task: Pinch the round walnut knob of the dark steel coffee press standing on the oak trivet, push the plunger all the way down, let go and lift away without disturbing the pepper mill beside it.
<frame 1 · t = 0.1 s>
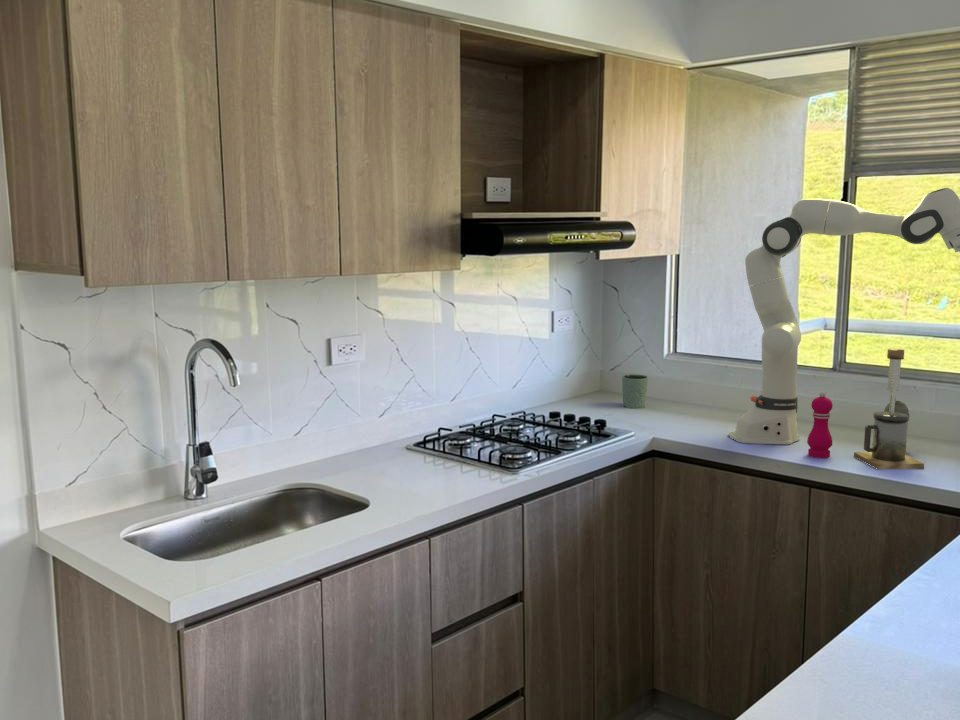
plunger: (894, 370, 253), point 28 cm above the worktop, slide at 7.0 cm
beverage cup: (893, 450, 272), on the worktop
trivet: (887, 462, 257), on the worktop
pepper mill: (818, 456, 265), on the worktop
press: (886, 420, 255), on the trivet, point 13 cm above the worktop
green cup: (634, 406, 340), on the worktop
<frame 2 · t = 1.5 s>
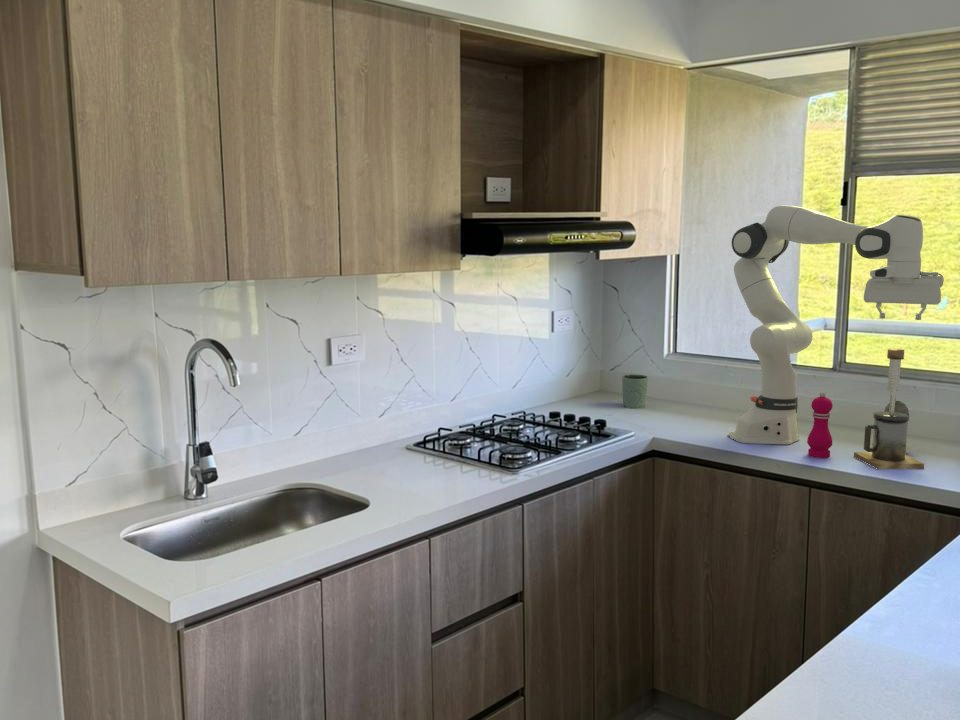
hand: (900, 319, 251), 43 cm above the worktop, tool pointing down, fingers open, 8 cm apart
nothing on the worktop moved.
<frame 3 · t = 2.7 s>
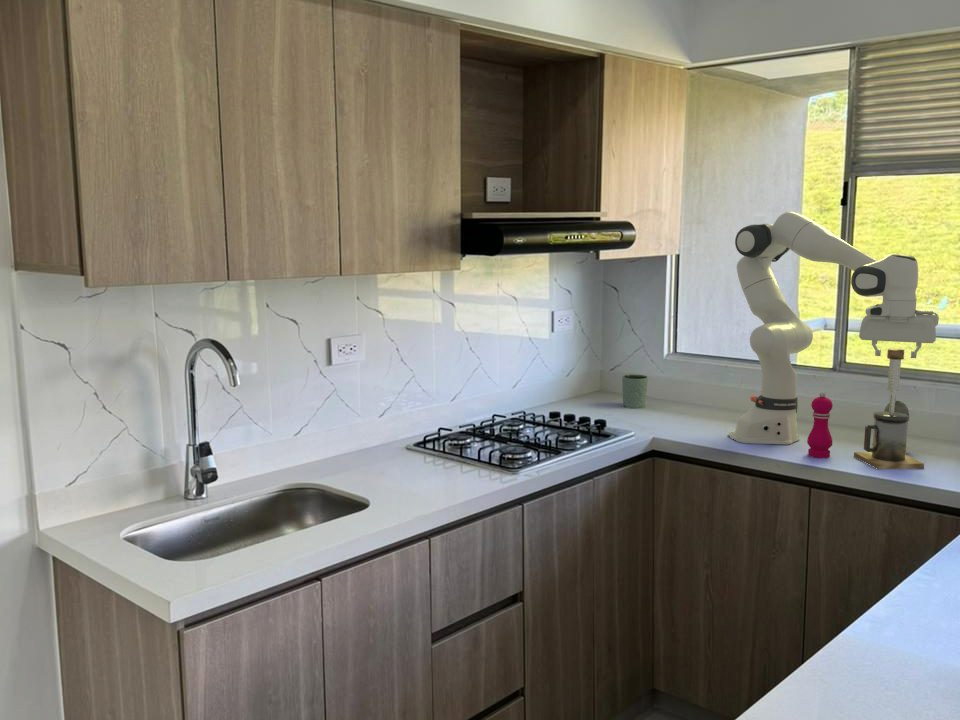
hand: (895, 356, 252), 32 cm above the worktop, tool pointing down, fingers open, 8 cm apart
nothing on the worktop moved.
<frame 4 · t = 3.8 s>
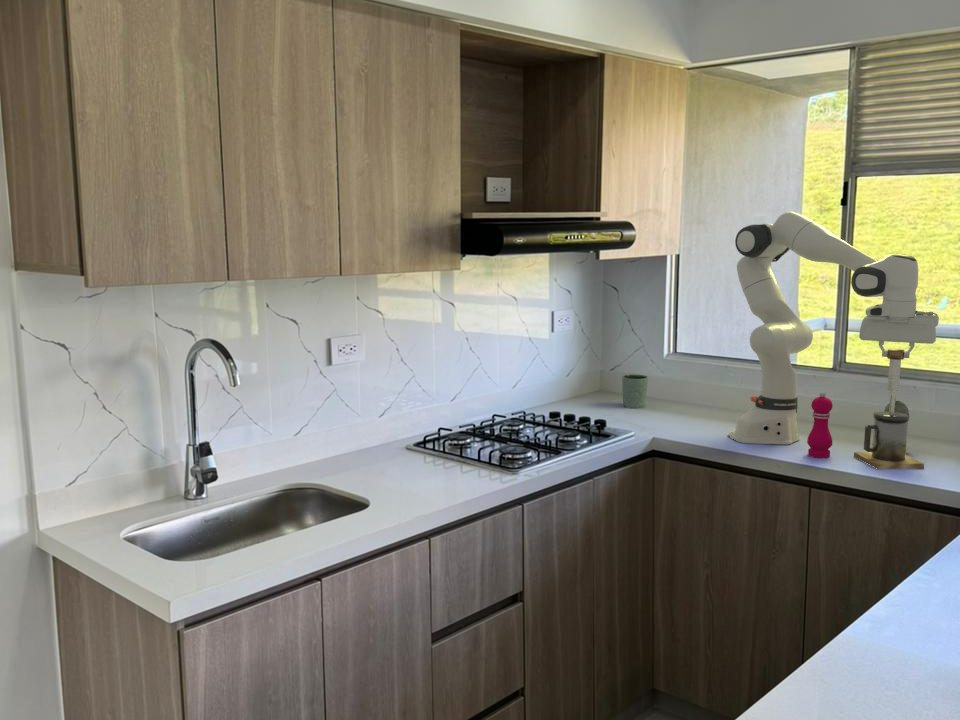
hand: (895, 357, 252), 32 cm above the worktop, tool pointing down, fingers closed on plunger, 4 cm apart
plunger: (894, 370, 253), point 28 cm above the worktop, slide at 7.0 cm, touching gripper
everything else where it was.
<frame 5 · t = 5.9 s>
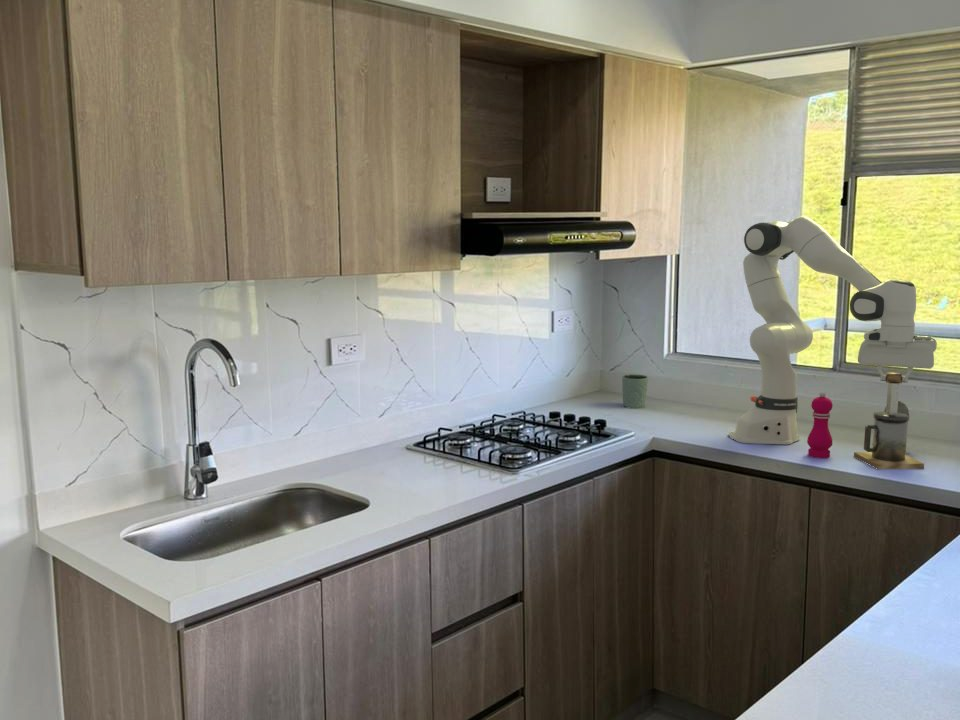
hand: (893, 381, 253), 25 cm above the worktop, tool pointing down, fingers closed on plunger, 4 cm apart
plunger: (892, 393, 254), point 21 cm above the worktop, slide at -0.1 cm, touching gripper
everything else where it was.
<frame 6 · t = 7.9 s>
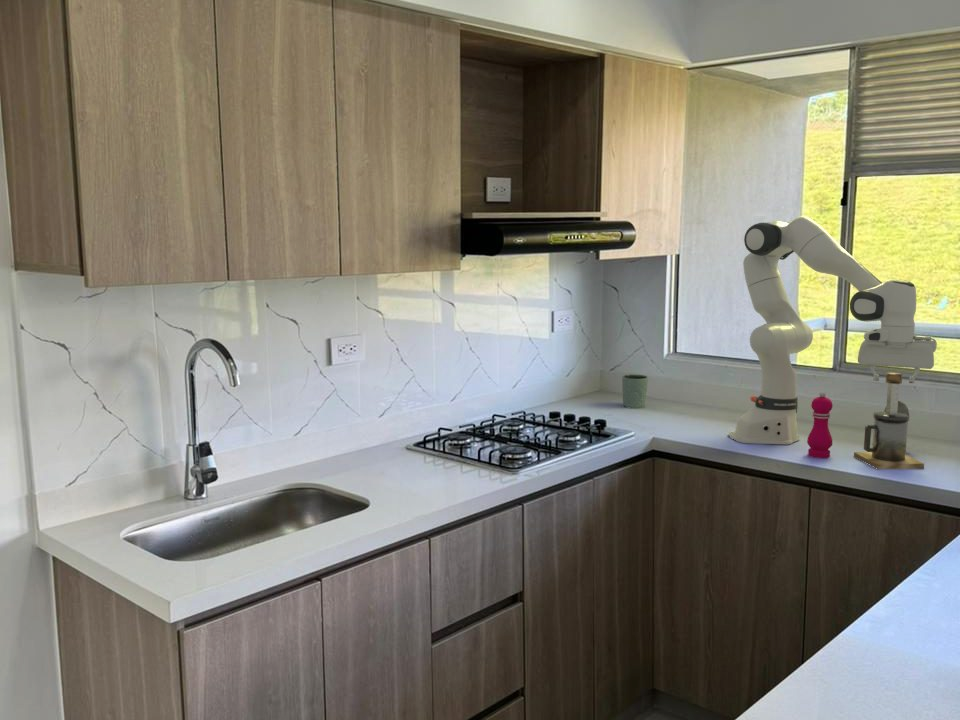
hand: (893, 381, 253), 24 cm above the worktop, tool pointing down, fingers open, 8 cm apart
plunger: (892, 393, 254), point 21 cm above the worktop, slide at -0.1 cm
everything else where it was.
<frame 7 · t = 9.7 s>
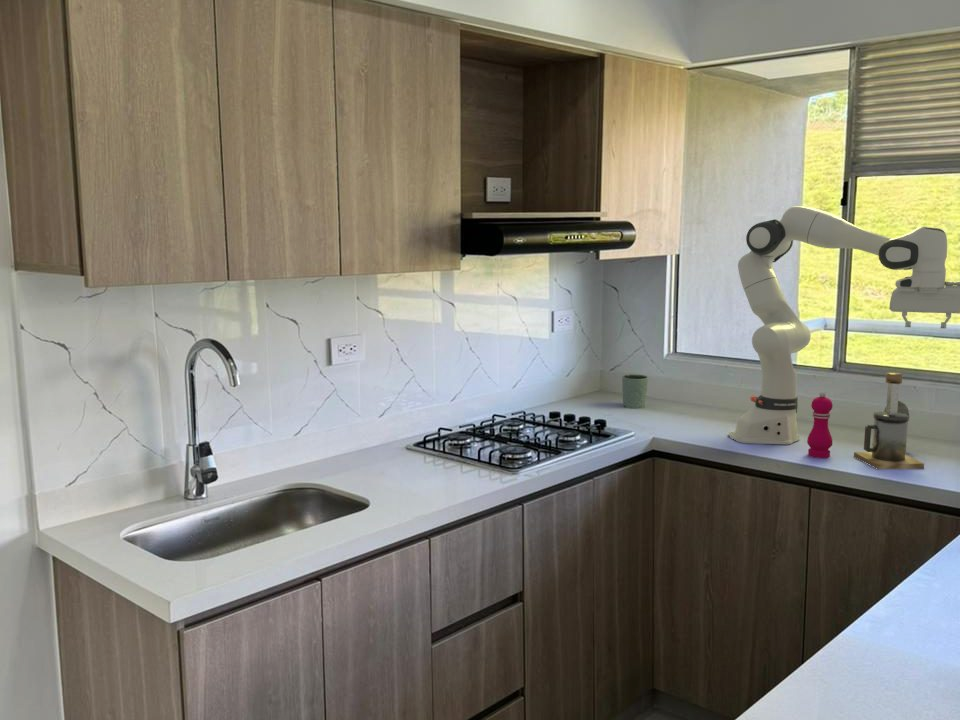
hand: (925, 327, 258), 40 cm above the worktop, tool pointing down, fingers open, 8 cm apart
nothing on the worktop moved.
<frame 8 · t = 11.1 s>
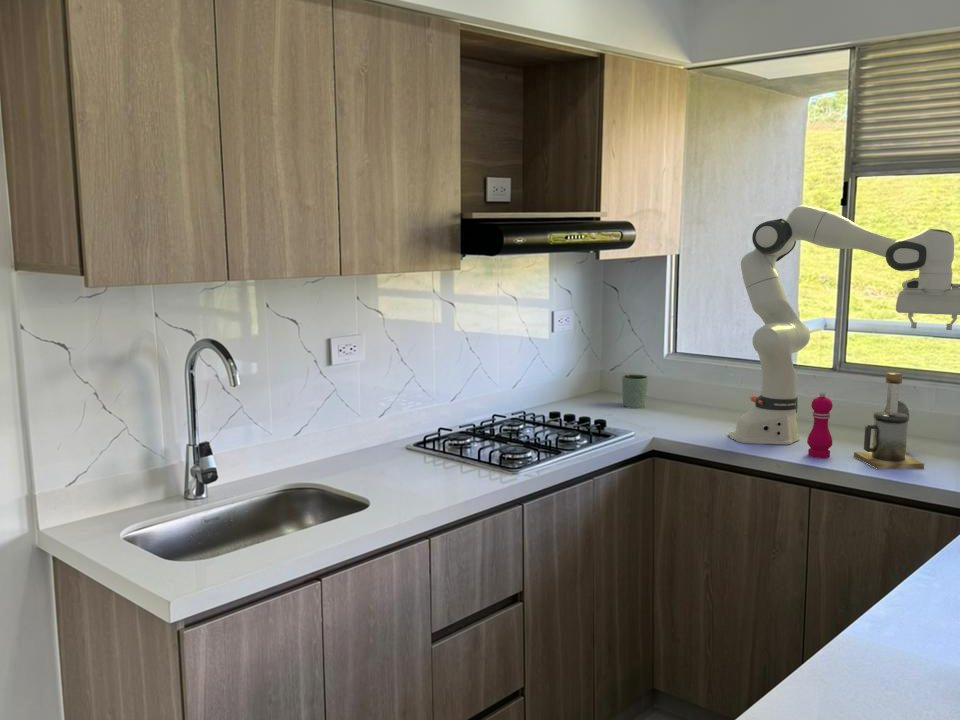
hand: (931, 329, 260), 39 cm above the worktop, tool pointing down, fingers open, 8 cm apart
nothing on the worktop moved.
at the end: plunger slide at -0.1 cm; the gripper is holding nothing; pepper mill moved 0.2 cm from its start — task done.
